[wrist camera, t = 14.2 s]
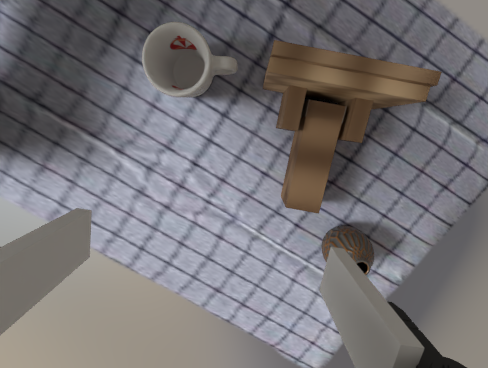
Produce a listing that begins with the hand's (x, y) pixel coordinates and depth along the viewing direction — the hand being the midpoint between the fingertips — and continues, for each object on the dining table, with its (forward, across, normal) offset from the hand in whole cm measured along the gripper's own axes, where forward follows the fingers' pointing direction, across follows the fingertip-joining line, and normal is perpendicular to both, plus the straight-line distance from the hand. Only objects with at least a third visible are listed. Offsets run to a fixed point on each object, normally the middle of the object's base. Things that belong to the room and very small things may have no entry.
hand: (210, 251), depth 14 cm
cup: (+27, -6, +13) cm, 31 cm away
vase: (+26, +19, -9) cm, 33 cm away
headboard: (+26, +11, +11) cm, 31 cm away
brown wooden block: (+26, +11, +4) cm, 29 cm away
